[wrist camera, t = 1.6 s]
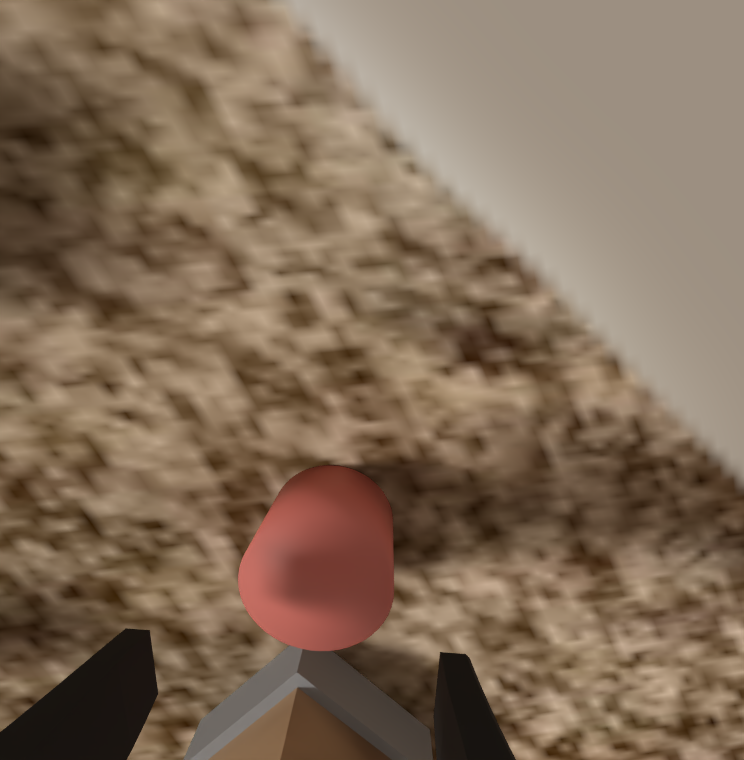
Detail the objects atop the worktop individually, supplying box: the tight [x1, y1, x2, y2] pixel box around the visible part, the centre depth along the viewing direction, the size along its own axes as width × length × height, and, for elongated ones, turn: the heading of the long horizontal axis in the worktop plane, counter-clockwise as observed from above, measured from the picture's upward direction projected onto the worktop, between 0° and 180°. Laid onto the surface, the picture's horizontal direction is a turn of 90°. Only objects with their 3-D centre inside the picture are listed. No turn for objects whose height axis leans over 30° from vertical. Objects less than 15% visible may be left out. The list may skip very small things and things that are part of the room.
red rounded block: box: [238, 465, 394, 651], centre depth 13 cm, size 5×5×4 cm
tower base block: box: [184, 645, 433, 760], centre depth 17 cm, size 8×8×2 cm
